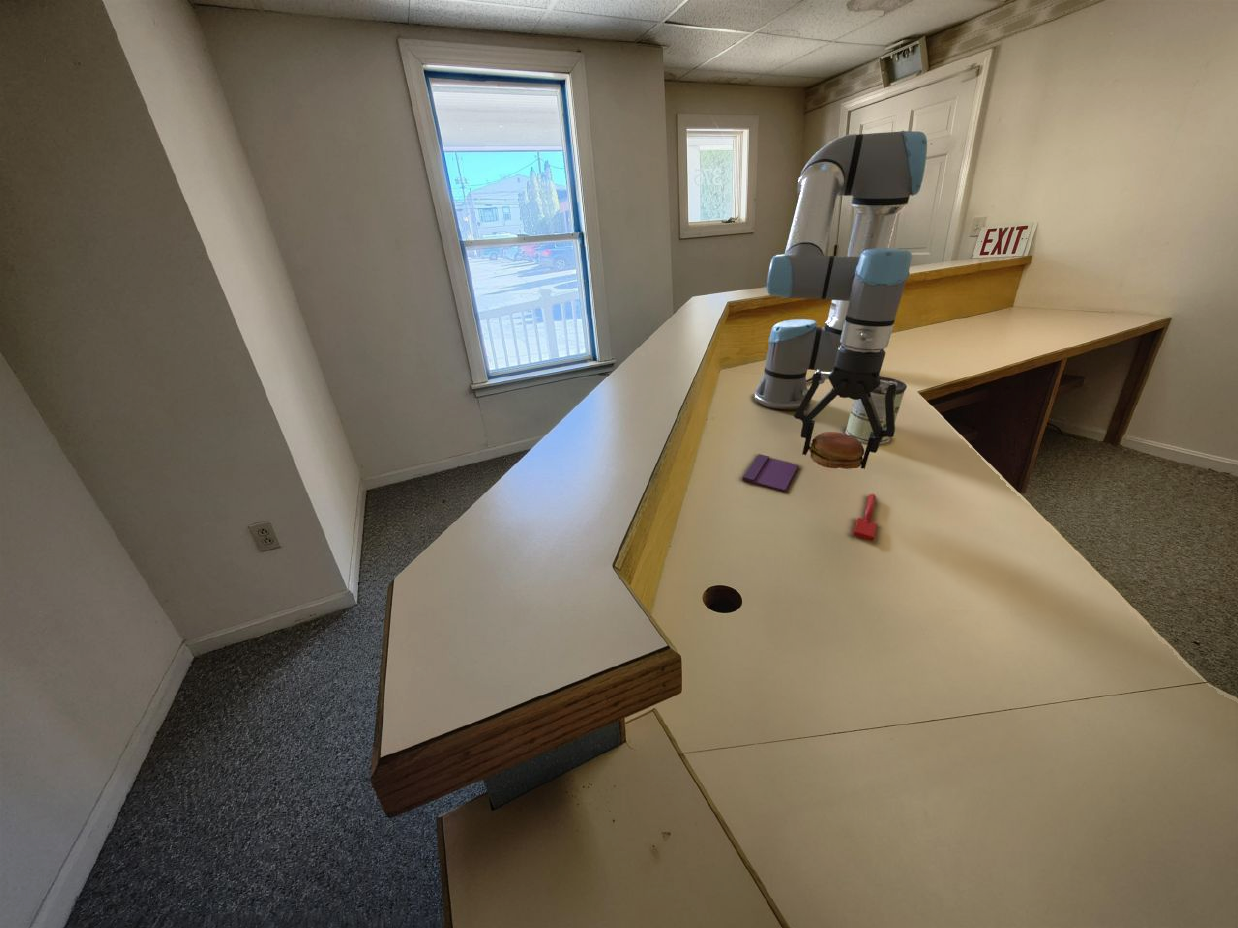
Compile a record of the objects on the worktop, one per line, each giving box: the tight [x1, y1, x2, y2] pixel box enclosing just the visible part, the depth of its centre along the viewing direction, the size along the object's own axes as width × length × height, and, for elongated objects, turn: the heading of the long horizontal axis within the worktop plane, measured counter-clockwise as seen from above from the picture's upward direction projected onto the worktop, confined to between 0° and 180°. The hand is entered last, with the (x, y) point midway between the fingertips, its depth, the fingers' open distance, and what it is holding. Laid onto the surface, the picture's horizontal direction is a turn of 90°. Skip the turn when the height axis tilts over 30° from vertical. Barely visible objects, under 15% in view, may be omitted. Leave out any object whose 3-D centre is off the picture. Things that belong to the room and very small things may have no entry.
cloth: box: [742, 453, 799, 493], centre depth 99 cm, size 12×9×1 cm
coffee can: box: [844, 375, 908, 445], centre depth 112 cm, size 10×10×14 cm
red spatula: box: [852, 493, 878, 542], centre depth 85 cm, size 15×3×1 cm, turn 149°
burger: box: [808, 431, 865, 470], centre depth 89 cm, size 10×9×5 cm
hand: (833, 458), depth 90 cm, fingers closed on burger, 10 cm apart
